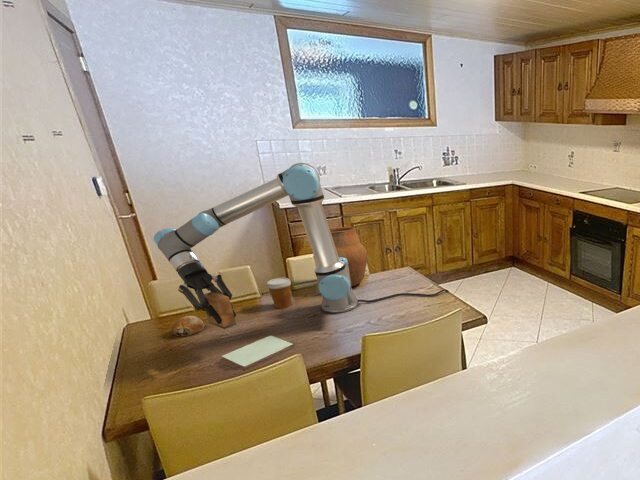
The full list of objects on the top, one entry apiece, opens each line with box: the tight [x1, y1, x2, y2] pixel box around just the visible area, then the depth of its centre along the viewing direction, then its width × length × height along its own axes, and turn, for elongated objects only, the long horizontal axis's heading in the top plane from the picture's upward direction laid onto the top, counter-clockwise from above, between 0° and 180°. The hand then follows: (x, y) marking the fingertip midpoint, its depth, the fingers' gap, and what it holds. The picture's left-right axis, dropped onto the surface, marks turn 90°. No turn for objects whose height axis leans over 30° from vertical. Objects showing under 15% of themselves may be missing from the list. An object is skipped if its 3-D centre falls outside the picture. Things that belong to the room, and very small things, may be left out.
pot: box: [329, 226, 368, 287], centre depth 215 cm, size 24×24×30 cm
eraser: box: [204, 291, 237, 330], centre depth 151 cm, size 4×10×11 cm, turn 62°
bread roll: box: [172, 315, 206, 337], centre depth 170 cm, size 10×10×8 cm
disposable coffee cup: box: [266, 277, 292, 309], centre depth 193 cm, size 10×10×12 cm
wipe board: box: [221, 334, 293, 367], centre depth 156 cm, size 18×14×1 cm
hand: (227, 319), depth 150 cm, fingers closed on eraser, 4 cm apart
